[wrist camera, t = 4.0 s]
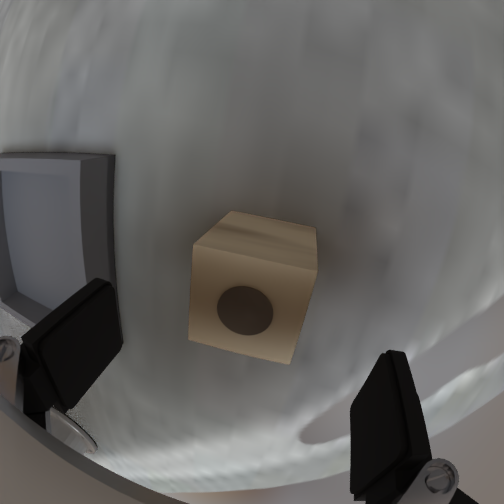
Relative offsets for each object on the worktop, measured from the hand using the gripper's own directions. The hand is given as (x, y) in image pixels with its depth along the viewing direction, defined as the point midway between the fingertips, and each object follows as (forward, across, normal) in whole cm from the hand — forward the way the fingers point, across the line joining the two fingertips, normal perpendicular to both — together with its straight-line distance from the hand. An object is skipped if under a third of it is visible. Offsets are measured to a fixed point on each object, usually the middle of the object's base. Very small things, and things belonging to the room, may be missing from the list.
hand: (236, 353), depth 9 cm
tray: (+9, +19, +4) cm, 22 cm away
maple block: (+9, 0, +1) cm, 9 cm away
